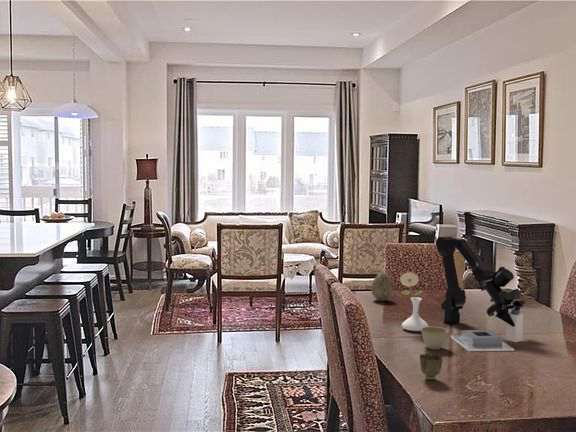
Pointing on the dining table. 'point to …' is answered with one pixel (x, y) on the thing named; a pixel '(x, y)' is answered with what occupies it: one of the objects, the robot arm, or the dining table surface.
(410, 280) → the flower in vase
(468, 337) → the grey square frame
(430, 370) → the cup
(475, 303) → the dining table surface
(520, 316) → the plug
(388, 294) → the decorative egg
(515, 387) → the dining table surface
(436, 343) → the flower pot
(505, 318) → the robot arm
